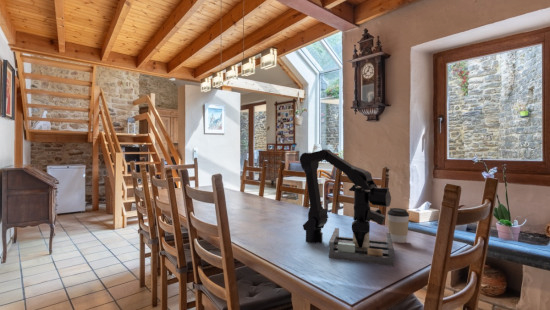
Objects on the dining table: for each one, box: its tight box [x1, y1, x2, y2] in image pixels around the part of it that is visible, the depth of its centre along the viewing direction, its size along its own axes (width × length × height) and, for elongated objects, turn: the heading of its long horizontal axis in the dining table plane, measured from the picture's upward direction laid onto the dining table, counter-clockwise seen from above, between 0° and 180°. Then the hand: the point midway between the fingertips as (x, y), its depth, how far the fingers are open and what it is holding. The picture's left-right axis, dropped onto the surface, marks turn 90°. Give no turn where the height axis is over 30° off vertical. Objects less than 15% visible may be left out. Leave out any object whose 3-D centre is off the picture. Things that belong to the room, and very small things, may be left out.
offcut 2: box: [368, 248, 383, 256], centre depth 106 cm, size 5×2×4 cm, turn 72°
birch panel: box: [352, 232, 370, 248], centre depth 114 cm, size 6×2×9 cm, turn 72°
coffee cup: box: [386, 207, 410, 244], centre depth 130 cm, size 9×9×15 cm
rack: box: [328, 227, 395, 267], centre depth 114 cm, size 22×20×7 cm
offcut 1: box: [338, 242, 355, 253], centre depth 109 cm, size 6×2×5 cm, turn 72°
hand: (361, 243), depth 114 cm, fingers open, 9 cm apart
